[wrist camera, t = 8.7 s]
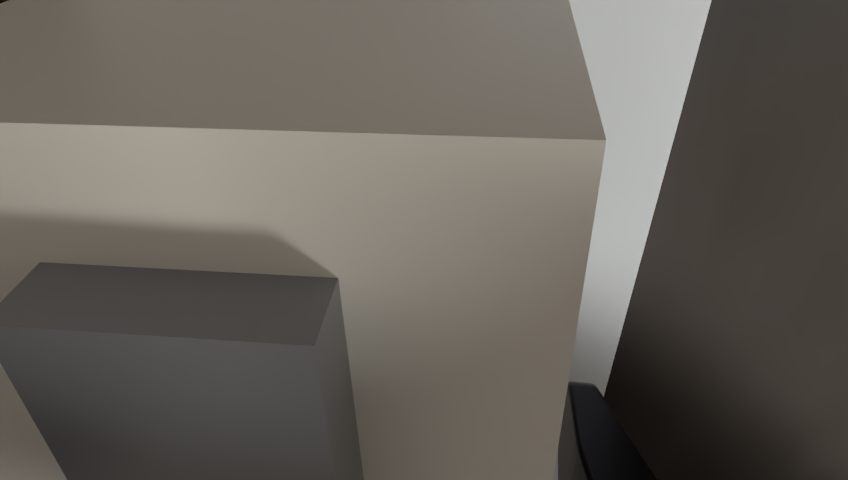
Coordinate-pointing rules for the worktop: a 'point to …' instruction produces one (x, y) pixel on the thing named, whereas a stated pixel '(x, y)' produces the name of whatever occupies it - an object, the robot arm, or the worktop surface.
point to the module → (291, 237)
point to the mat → (628, 151)
